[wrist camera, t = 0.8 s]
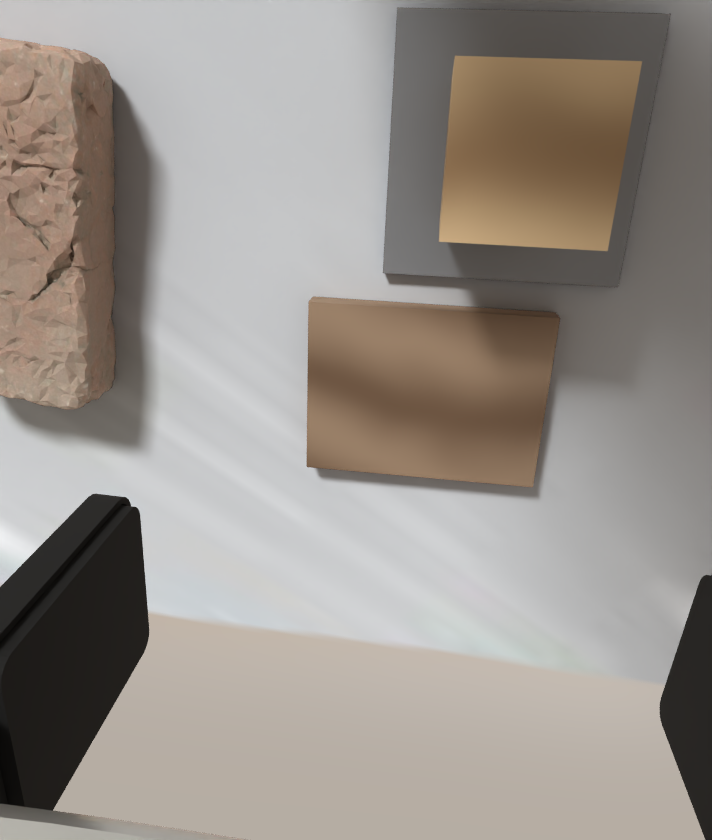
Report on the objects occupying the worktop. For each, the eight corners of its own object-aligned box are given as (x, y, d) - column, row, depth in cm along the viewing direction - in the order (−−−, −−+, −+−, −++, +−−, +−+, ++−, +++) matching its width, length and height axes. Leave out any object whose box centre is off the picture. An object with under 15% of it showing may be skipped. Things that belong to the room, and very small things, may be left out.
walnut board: (312, 296, 33) (308, 301, 32) (556, 312, 32) (560, 318, 31) (310, 457, 37) (306, 466, 36) (530, 476, 36) (532, 487, 34)
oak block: (451, 76, 28) (454, 55, 22) (595, 81, 28) (642, 61, 21) (439, 221, 31) (439, 241, 24) (571, 228, 30) (607, 251, 24)
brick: (121, 391, 37) (79, 423, 33) (-21, 365, 37) (-81, 393, 33) (124, 60, 31) (72, 45, 26) (-48, 33, 31) (-127, 14, 27)
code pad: (398, 10, 28) (397, 7, 28) (666, 16, 27) (670, 13, 26) (383, 270, 32) (382, 273, 32) (615, 284, 31) (618, 287, 31)
